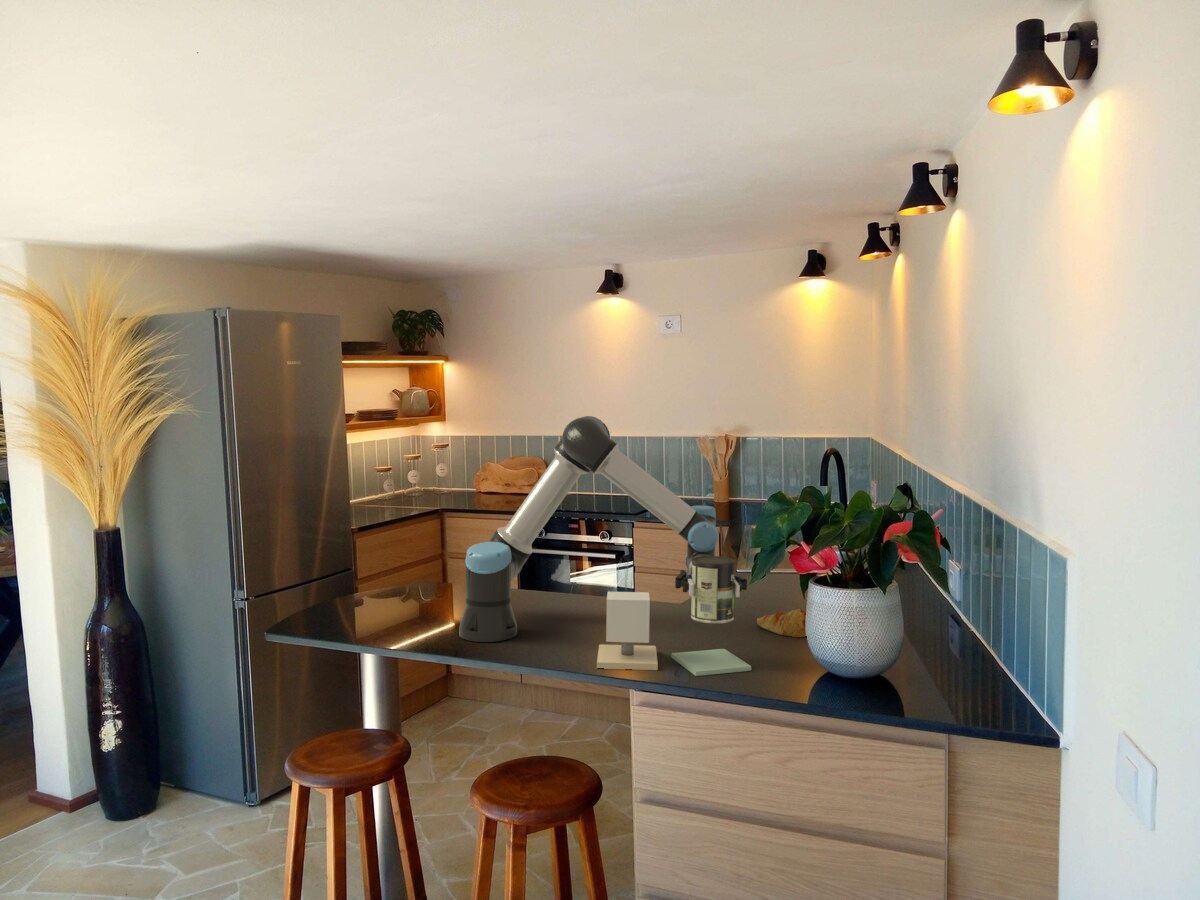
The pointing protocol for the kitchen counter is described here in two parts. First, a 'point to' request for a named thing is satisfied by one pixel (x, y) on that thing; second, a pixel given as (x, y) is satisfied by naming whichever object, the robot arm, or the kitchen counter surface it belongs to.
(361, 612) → the kitchen counter surface
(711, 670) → the sage mat
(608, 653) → the mounted unit
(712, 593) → the coffee can
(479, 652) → the kitchen counter surface
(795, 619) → the croissant
